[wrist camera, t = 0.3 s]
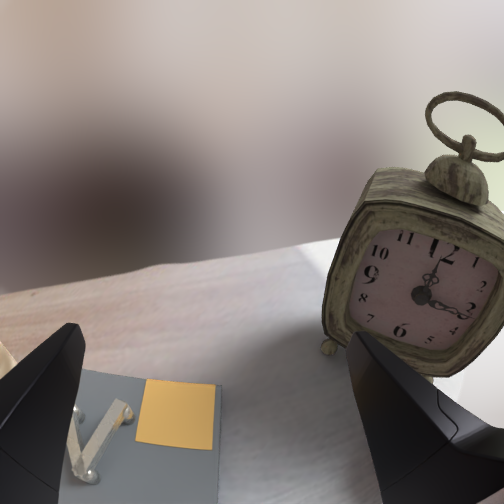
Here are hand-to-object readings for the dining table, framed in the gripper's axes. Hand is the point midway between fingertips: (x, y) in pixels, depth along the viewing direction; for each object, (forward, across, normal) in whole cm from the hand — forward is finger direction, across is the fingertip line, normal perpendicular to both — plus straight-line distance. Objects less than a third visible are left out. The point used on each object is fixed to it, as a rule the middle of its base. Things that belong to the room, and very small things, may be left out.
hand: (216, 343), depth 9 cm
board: (+2, +10, +17) cm, 20 cm away
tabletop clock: (+11, -17, +14) cm, 25 cm away
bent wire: (+2, +9, +16) cm, 19 cm away
